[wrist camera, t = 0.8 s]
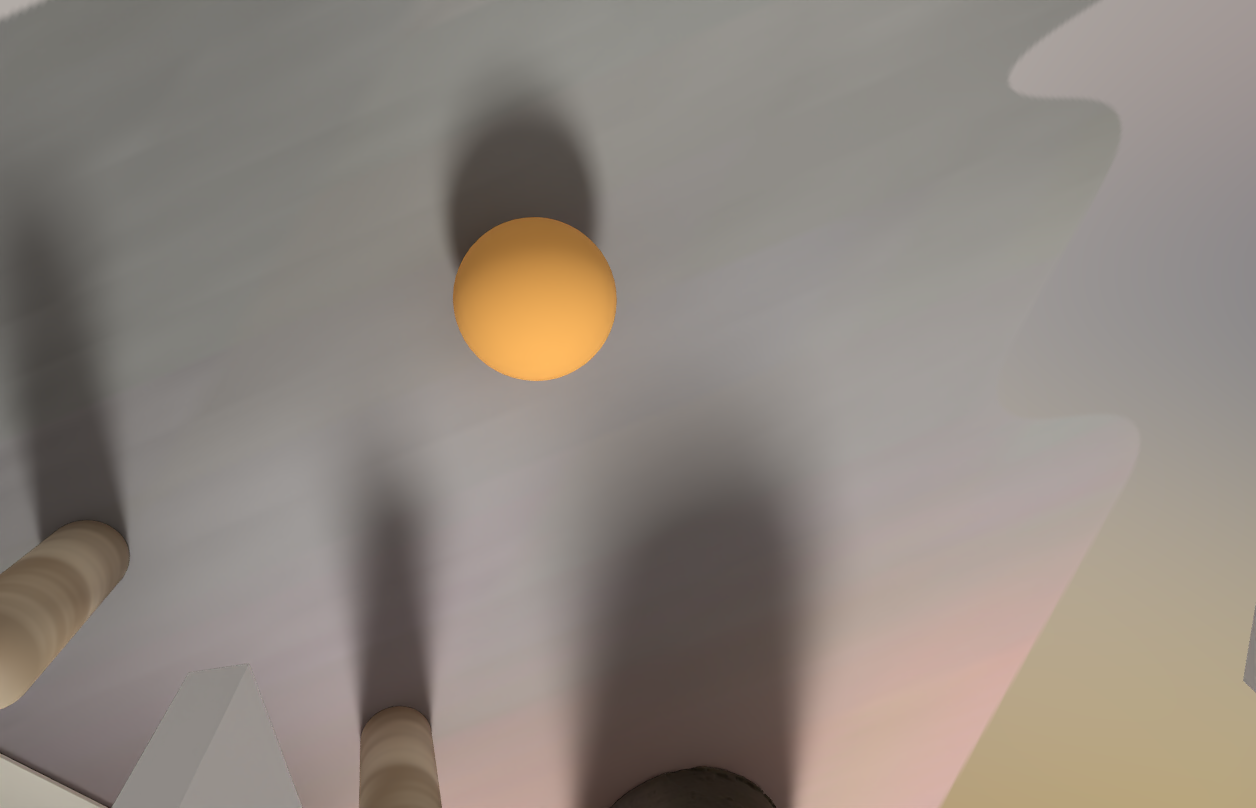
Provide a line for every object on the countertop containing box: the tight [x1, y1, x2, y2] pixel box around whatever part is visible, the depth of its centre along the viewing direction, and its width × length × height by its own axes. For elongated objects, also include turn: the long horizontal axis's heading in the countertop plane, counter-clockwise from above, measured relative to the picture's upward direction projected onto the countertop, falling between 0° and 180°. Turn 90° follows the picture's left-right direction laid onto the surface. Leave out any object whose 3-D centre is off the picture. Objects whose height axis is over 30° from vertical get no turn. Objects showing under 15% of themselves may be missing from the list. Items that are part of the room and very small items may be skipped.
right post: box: [359, 706, 442, 808], centre depth 30 cm, size 3×3×9 cm
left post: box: [0, 520, 129, 709], centre depth 27 cm, size 3×3×9 cm
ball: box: [453, 217, 617, 381], centre depth 31 cm, size 6×6×6 cm
